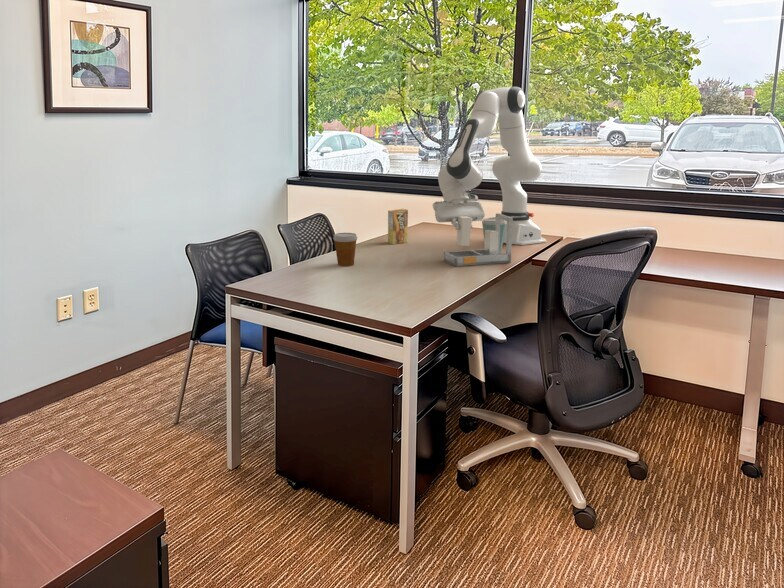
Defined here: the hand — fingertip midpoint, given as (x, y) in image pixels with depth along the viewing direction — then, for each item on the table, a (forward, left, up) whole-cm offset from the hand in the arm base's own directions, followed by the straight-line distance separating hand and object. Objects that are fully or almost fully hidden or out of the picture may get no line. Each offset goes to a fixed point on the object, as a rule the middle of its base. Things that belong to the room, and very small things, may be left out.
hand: (464, 228), depth 251 cm
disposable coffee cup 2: (-20, -15, -14) cm, 29 cm away
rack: (-6, -1, -14) cm, 15 cm away
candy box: (+12, -49, -14) cm, 52 cm away
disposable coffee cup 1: (+46, -11, -14) cm, 49 cm away
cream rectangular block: (0, -1, -6) cm, 6 cm away
